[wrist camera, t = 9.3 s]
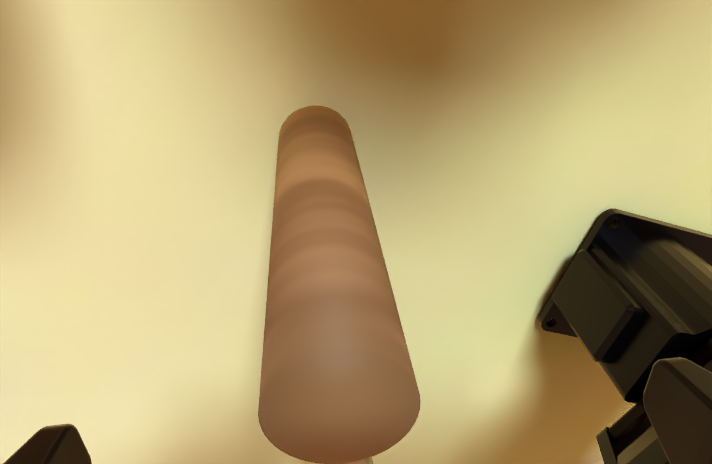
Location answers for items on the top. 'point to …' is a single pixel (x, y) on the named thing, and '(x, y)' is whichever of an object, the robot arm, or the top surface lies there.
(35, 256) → the top surface
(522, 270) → the top surface
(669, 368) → the robot arm
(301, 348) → the gate
